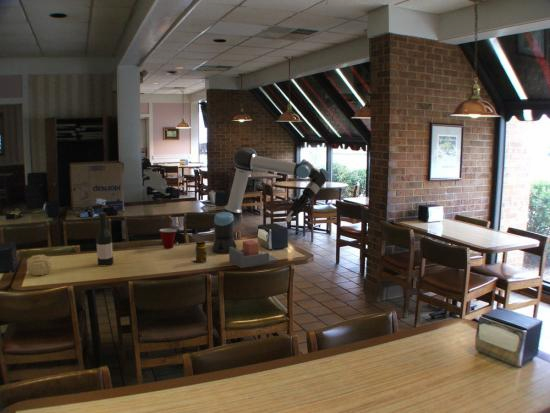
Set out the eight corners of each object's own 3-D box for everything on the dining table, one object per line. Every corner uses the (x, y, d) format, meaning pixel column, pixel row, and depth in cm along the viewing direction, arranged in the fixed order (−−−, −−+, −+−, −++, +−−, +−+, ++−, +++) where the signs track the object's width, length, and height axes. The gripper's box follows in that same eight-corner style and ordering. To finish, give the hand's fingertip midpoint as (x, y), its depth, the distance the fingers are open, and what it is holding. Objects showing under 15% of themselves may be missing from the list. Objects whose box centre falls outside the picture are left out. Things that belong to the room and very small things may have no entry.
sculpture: (27, 278, 250) (25, 259, 248) (28, 272, 261) (26, 252, 259) (51, 276, 255) (49, 256, 253) (51, 269, 266) (50, 250, 263)
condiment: (209, 262, 279) (208, 242, 276) (195, 264, 274) (195, 244, 272) (203, 259, 285) (203, 239, 282) (190, 261, 280) (189, 241, 278)
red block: (242, 258, 280) (242, 241, 278) (252, 256, 283) (252, 239, 282) (249, 261, 273) (249, 244, 271) (259, 259, 277) (259, 243, 275)
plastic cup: (181, 246, 310) (180, 228, 308) (168, 250, 301) (168, 232, 299) (168, 244, 316) (168, 226, 313) (156, 248, 307) (155, 230, 304)
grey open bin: (229, 261, 280) (228, 247, 279) (265, 255, 292) (265, 241, 290) (241, 268, 267) (240, 253, 265) (278, 261, 279) (278, 247, 277)
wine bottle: (116, 262, 277) (113, 211, 272) (107, 267, 270) (103, 214, 264) (104, 261, 280) (100, 210, 274) (94, 265, 272) (91, 213, 267)
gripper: (320, 196, 288) (296, 226, 283) (308, 193, 299) (285, 222, 294) (313, 188, 284) (289, 218, 279) (301, 185, 296) (277, 214, 290)
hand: (287, 220), depth 287 cm, fingers closed
